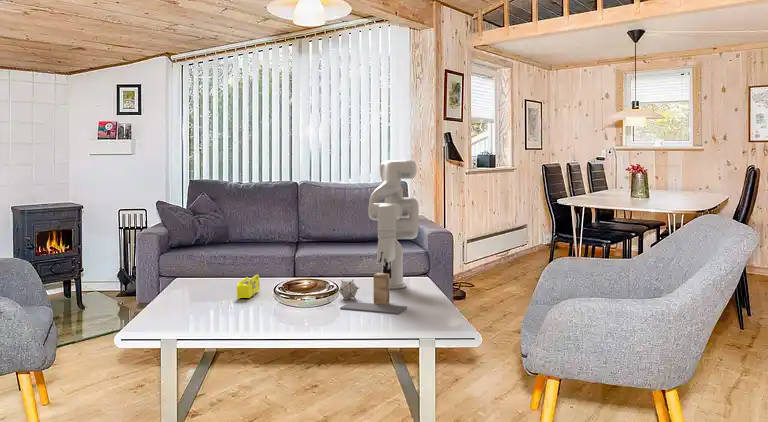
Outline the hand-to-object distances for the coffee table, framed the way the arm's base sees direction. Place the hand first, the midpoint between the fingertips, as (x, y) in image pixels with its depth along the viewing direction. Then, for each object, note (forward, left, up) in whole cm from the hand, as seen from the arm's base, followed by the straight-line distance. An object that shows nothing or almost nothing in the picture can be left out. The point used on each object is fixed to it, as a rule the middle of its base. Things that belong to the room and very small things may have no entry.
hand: (387, 278), depth 244 cm
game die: (+3, -16, -9) cm, 19 cm away
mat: (+15, 0, -9) cm, 18 cm away
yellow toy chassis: (+12, -59, -10) cm, 61 cm away
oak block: (+6, 0, -9) cm, 11 cm away
